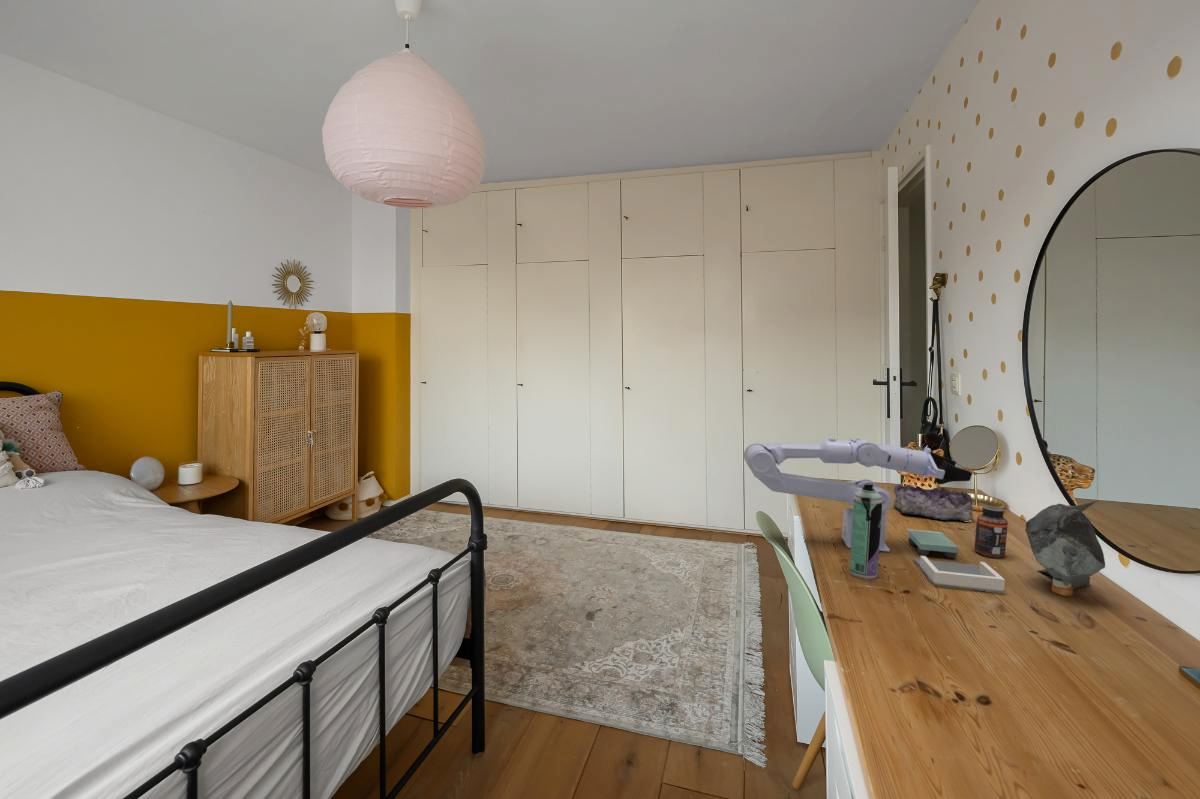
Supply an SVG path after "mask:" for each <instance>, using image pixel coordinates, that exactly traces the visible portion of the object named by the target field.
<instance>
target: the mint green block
mask: <svg viewBox="0 0 1200 799" xmlns="http://www.w3.org/2000/svg"><path fill="white" fill-rule="evenodd" d="M906 535H907V536H908V539H907V540H908V542H909V543H910V544H911V545H913V546H917V552H918V554H919V555H920V556H926V557H927V556H928V555H929V554H930V551H932V552H941V553H944V556H945V557H947V558H948V559H955V558H956V556H957V554H958V551H959V547H958V545H956V544H955V543H954V542H953V541H952V540H951V539H949V538H948V537H947V536H946V535H945V534H944V533H943V532H942V531H937V530H936V531H933V530H923V529H912V528H911V529H910V528H907V529H906Z"/></svg>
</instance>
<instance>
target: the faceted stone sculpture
mask: <svg viewBox="0 0 1200 799" xmlns="http://www.w3.org/2000/svg"><path fill="white" fill-rule="evenodd" d="M1097 502H1098V500H1095V501H1091V502H1086V503H1082V504H1078V505H1066V504H1063V503H1056V504H1052V505H1049V506H1047V507H1045V508H1044V509H1041V510H1040V511H1039V512H1038V513H1037V514H1036V515H1034V516H1033V517H1031V518H1030V519H1029V520H1027V521H1026V522H1025V529H1024V531H1025V533H1026V535H1027V538H1028V542H1029V545H1030V548H1031V550H1032V554H1033V556H1034V558H1035V560H1036V562H1037V563H1038V564H1040V565H1041V566H1043V569H1041V570H1038V572H1039V573H1042V574H1045V575H1047V576H1050V577H1052V582H1051V588H1050V590H1051V592H1052V593H1054V594H1056V595H1060V596H1063V597H1074V589H1077V588H1081V587H1082V588H1083V587H1085V586H1086V587H1087V586H1089V585H1090V583H1091V582H1090V581H1091V576H1093V575H1095V574H1097V573H1099V572H1100V571H1102V570H1103V569H1105V568H1106V561H1105V554H1104V550H1103V549H1102V546H1101V544H1100V542H1099V539H1098V536H1097V534H1096V530H1095V529H1094V527H1093V525H1092V522H1091V519H1089V518H1088V517H1087V516H1086V514H1085V513H1083V512H1084V511H1085V510H1087V509H1089V507H1091V506H1094V504H1095V503H1097Z"/></svg>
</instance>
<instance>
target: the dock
mask: <svg viewBox="0 0 1200 799" xmlns="http://www.w3.org/2000/svg"><path fill="white" fill-rule="evenodd" d="M911 560H912V562H914V564H915V565H916V566H917V568H918V569H919V570H920V571H921V573H922V574H923V575H924V576H925V577H926V579H928V581H929V582H930V583H931V584H933V585H934V586H933V585H932V586H933V587H937V586H940V588H945V587H949V588H948V589H954V588H961V589H960V590H963V589H970V590H969V591H972V590H979V591H978V592H981V591H985V592H984V593H992V594H999V595H1004V593H1005V582H1006V579H1005V578H1004V577H1003V576H1001V575H1000V574H999V573H998V572H997V571H996V570H994V569H993V568H992V567H991V566H990V565H988V564H987V563H986V562H985V561H979V562H978V565H976V564H972V563H959V562H952V561H951V562H950V561H942V562H941V560H940V561H939V560H931V559H929V558H928V557H927V555H926V556H922V555H920V558H911ZM941 586H942V587H941Z"/></svg>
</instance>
